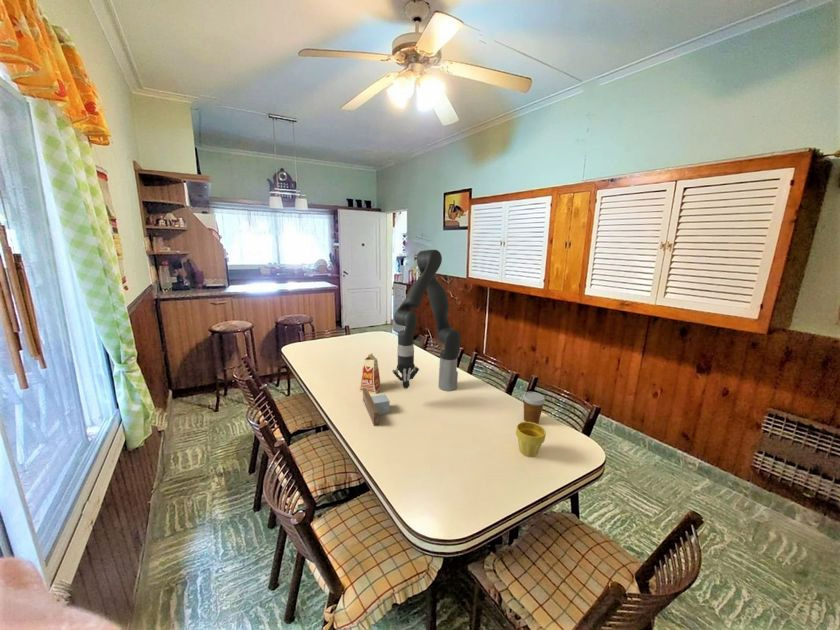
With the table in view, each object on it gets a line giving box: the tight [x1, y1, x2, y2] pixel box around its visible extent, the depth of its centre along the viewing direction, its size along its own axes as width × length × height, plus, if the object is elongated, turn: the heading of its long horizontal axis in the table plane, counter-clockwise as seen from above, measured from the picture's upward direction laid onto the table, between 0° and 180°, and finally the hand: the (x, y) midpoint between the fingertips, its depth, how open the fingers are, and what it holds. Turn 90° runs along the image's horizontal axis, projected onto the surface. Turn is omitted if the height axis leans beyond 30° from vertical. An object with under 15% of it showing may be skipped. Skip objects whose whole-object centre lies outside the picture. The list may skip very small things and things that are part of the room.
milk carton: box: [358, 352, 381, 395], centre depth 169 cm, size 9×9×20 cm
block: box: [370, 393, 390, 416], centre depth 150 cm, size 7×7×6 cm
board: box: [362, 388, 379, 427], centre depth 148 cm, size 2×24×6 cm, turn 21°
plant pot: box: [515, 421, 547, 458], centre depth 123 cm, size 10×10×10 cm
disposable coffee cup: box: [522, 391, 546, 425], centre depth 144 cm, size 10×10×12 cm
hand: (405, 387), depth 153 cm, fingers closed
